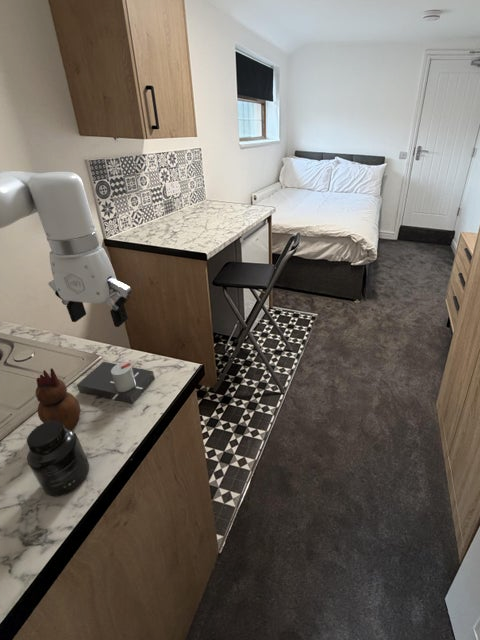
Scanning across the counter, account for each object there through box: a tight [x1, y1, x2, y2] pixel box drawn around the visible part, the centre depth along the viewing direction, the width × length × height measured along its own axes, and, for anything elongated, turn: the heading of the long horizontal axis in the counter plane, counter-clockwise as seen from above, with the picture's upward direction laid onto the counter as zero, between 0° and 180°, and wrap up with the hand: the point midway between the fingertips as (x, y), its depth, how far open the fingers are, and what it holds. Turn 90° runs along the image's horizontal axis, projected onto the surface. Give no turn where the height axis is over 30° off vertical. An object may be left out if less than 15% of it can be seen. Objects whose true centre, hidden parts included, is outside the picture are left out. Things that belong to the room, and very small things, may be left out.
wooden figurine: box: [35, 368, 81, 430], centre depth 63 cm, size 7×6×15 cm
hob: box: [76, 361, 156, 405], centre depth 75 cm, size 15×10×3 cm, turn 77°
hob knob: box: [111, 361, 136, 392], centre depth 72 cm, size 4×4×5 cm
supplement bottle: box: [26, 420, 90, 498], centre depth 54 cm, size 7×7×12 cm
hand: (100, 320), depth 67 cm, fingers open, 9 cm apart
